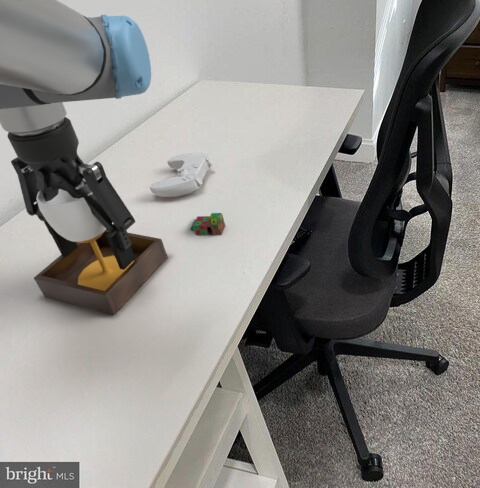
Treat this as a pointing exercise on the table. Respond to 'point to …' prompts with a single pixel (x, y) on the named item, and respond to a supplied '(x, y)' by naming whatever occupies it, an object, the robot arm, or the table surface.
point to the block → (209, 224)
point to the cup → (81, 235)
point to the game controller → (183, 175)
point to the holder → (119, 292)
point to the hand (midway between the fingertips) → (98, 257)
